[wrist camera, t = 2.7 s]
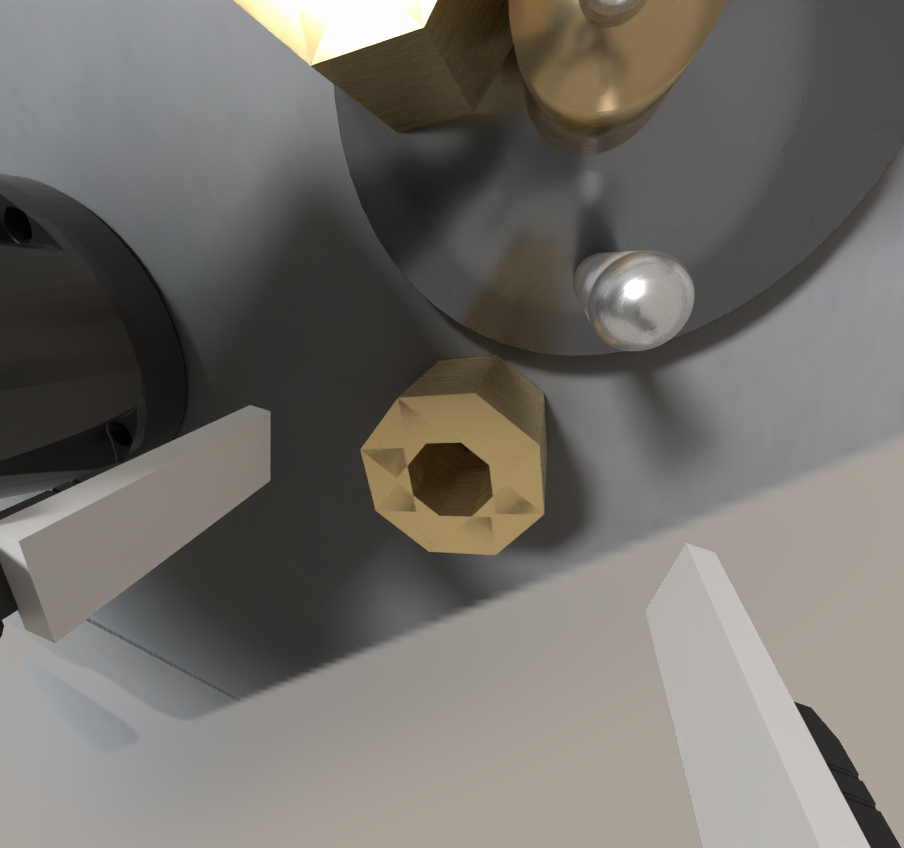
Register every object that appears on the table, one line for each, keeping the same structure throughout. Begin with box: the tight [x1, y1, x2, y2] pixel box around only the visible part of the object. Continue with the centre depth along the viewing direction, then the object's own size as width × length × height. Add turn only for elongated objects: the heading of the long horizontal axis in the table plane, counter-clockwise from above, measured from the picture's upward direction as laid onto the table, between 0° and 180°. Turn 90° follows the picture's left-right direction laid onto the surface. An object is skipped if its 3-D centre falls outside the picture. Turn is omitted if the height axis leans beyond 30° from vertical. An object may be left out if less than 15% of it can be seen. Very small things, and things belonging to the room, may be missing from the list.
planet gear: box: [360, 355, 547, 555], centre depth 15 cm, size 6×6×5 cm
